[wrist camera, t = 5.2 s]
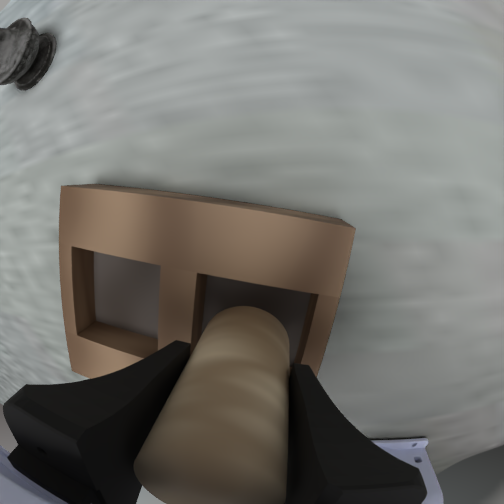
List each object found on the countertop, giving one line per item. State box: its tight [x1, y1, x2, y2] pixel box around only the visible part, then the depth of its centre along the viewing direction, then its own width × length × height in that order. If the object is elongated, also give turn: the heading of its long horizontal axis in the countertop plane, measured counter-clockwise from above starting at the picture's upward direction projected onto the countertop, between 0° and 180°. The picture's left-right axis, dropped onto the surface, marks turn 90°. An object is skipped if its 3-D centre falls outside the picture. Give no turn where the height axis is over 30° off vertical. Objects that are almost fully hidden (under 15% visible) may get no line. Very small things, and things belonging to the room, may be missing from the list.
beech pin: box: [133, 306, 289, 504], centre depth 10 cm, size 4×4×8 cm
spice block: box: [59, 184, 356, 379], centre depth 16 cm, size 15×12×4 cm
